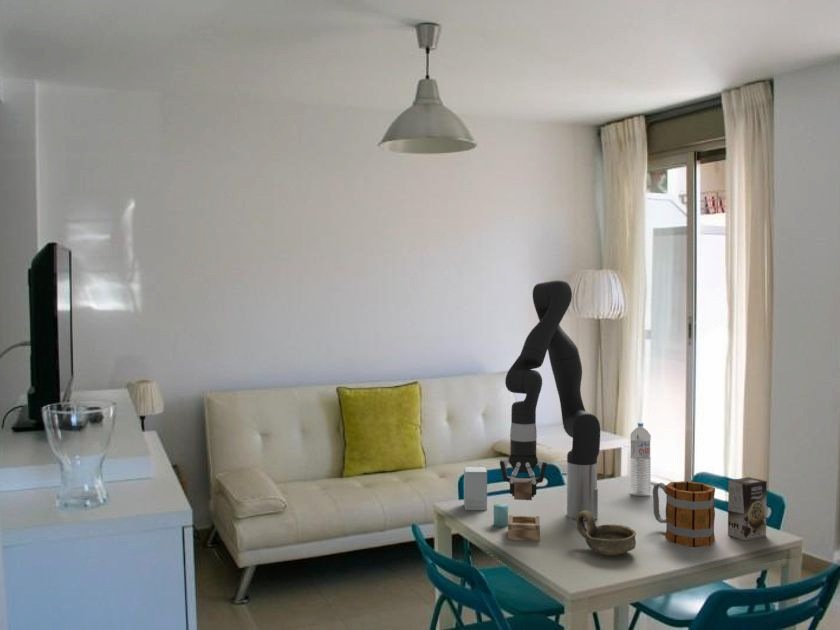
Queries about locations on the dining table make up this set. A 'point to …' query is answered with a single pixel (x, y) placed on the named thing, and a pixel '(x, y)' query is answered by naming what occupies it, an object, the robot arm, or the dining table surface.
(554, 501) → the dining table surface
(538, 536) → the oak base
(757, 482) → the coffee box
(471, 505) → the supplement box
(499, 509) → the teal cylinder
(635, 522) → the dining table surface
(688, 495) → the mug
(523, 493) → the walnut block
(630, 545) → the bowl
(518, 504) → the dining table surface
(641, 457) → the water bottle
